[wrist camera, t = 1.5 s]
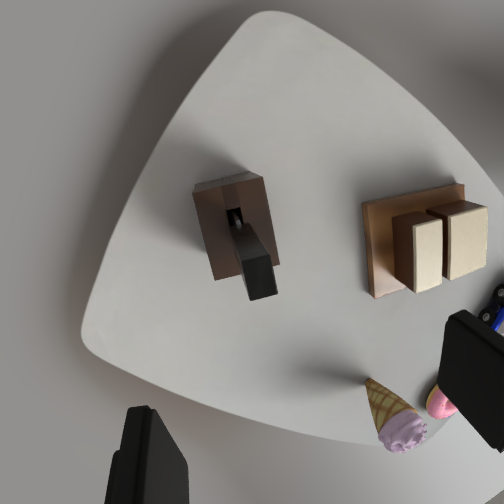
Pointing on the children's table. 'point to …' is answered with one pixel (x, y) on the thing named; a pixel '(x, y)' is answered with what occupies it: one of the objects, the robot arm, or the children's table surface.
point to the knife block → (217, 225)
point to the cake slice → (417, 250)
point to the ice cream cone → (394, 419)
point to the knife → (252, 259)
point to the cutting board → (382, 234)
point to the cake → (462, 237)
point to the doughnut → (439, 404)
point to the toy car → (497, 321)
